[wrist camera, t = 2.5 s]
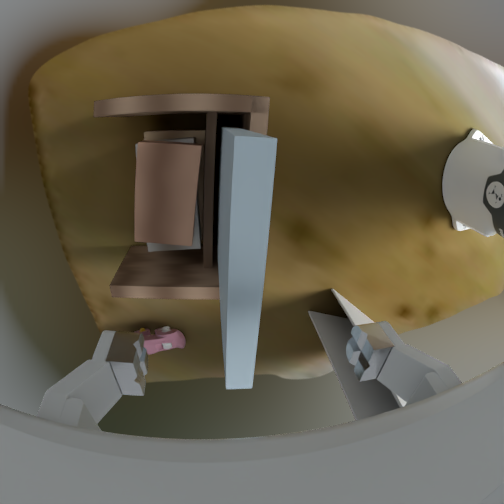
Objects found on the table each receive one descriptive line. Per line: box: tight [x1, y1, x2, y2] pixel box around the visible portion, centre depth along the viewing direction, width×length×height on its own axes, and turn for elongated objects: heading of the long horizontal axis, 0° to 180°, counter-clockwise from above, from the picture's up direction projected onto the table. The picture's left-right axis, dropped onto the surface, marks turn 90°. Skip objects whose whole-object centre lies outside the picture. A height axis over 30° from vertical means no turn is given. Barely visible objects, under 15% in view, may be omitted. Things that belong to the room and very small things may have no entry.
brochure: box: [308, 289, 407, 420], centre depth 34 cm, size 14×6×30 cm, turn 49°
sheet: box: [217, 126, 277, 389], centre depth 24 cm, size 2×14×24 cm, turn 176°
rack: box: [94, 94, 270, 299], centre depth 29 cm, size 15×20×10 cm
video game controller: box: [135, 326, 186, 354], centre depth 41 cm, size 10×5×7 cm, turn 96°
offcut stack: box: [135, 130, 206, 252], centre depth 30 cm, size 7×13×8 cm, turn 176°
